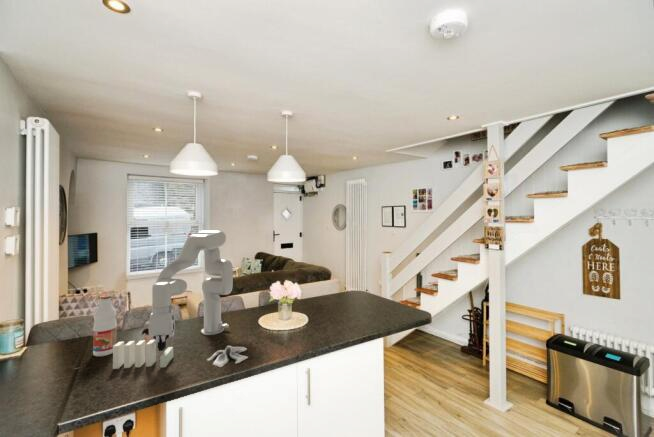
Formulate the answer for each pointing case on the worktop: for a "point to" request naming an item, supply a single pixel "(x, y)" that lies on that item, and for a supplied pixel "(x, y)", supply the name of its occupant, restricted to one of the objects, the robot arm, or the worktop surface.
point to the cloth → (228, 355)
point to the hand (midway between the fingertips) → (161, 349)
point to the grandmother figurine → (146, 333)
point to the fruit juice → (104, 327)
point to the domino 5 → (166, 357)
